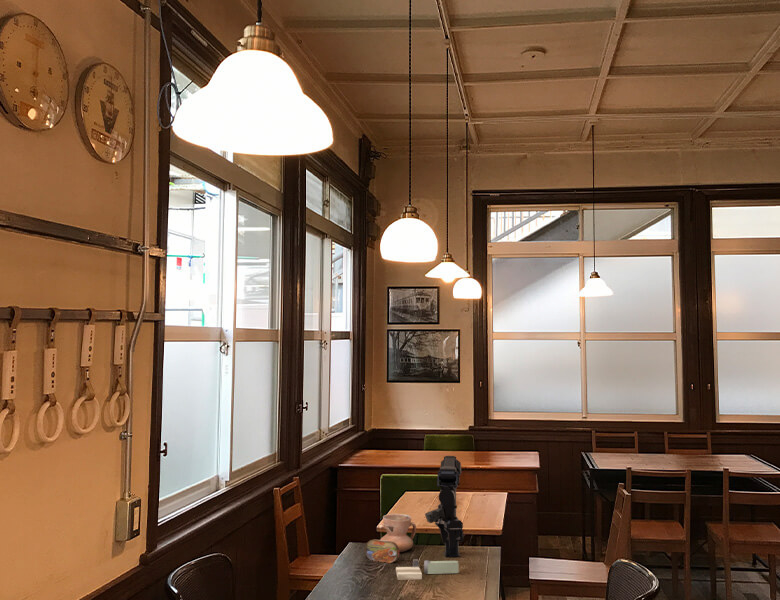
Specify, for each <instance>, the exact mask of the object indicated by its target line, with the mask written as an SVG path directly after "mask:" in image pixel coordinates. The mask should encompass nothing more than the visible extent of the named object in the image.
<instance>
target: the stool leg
mask: <svg viewBox="0 0 780 600" xmlns="http://www.w3.org/2000/svg"><path fill="white" fill-rule="evenodd" d="M423 563H424V564H423V568H424V570H423V573H424V574H426V575H430V574H431V575H439V574H441V575H442V574H459V571H460V570H459V566H460V565H459V561H458V560H435V561H434V560H429V559H428V560H427V559H425V560H424V561H423Z"/></svg>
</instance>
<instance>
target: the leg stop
mask: <svg viewBox="0 0 780 600" xmlns="http://www.w3.org/2000/svg"><path fill="white" fill-rule="evenodd" d="M419 564H420V562H419V559H418V558H415V559H414V558H413V559H412V567H419V568H420V565H419Z"/></svg>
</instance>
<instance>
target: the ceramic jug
mask: <svg viewBox="0 0 780 600" xmlns="http://www.w3.org/2000/svg"><path fill="white" fill-rule="evenodd" d="M382 520H383V524H379V525H378V528H379V529H384V530H385V532H386V534H385V535H384V536H382V537H381V538H380V540H385V541H392V542H394V543H396V544H397V546H398V547H399V553H403V552H407V551H408V550H410V549H412V547H413V546H414V541H413V539H414V537H415V535H416V533H417V525H416V523H415V522H413V521H412V516H410V515H408V514H404V513H388V514H385V515H383V516H382ZM410 527H412V531H411V533H410V534H411V535H410V536H409V535H408V534H407V533H408V530H409V528H410Z"/></svg>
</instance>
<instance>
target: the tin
mask: <svg viewBox="0 0 780 600" xmlns="http://www.w3.org/2000/svg"><path fill="white" fill-rule="evenodd" d="M364 552H365V556H366V557H367V559H368V560H370V561H372V560H373V561H372V562H378V561H379V562H378V563H384V562H386V564H392V563H394V562H396V561H398V558H399V557H400V552H399V547H398V546H397V544H396V543H394V542H392V541H385V540H381V539H375V538H374V539H370V540H369V541H367V542H366V544H365V547H364Z"/></svg>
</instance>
